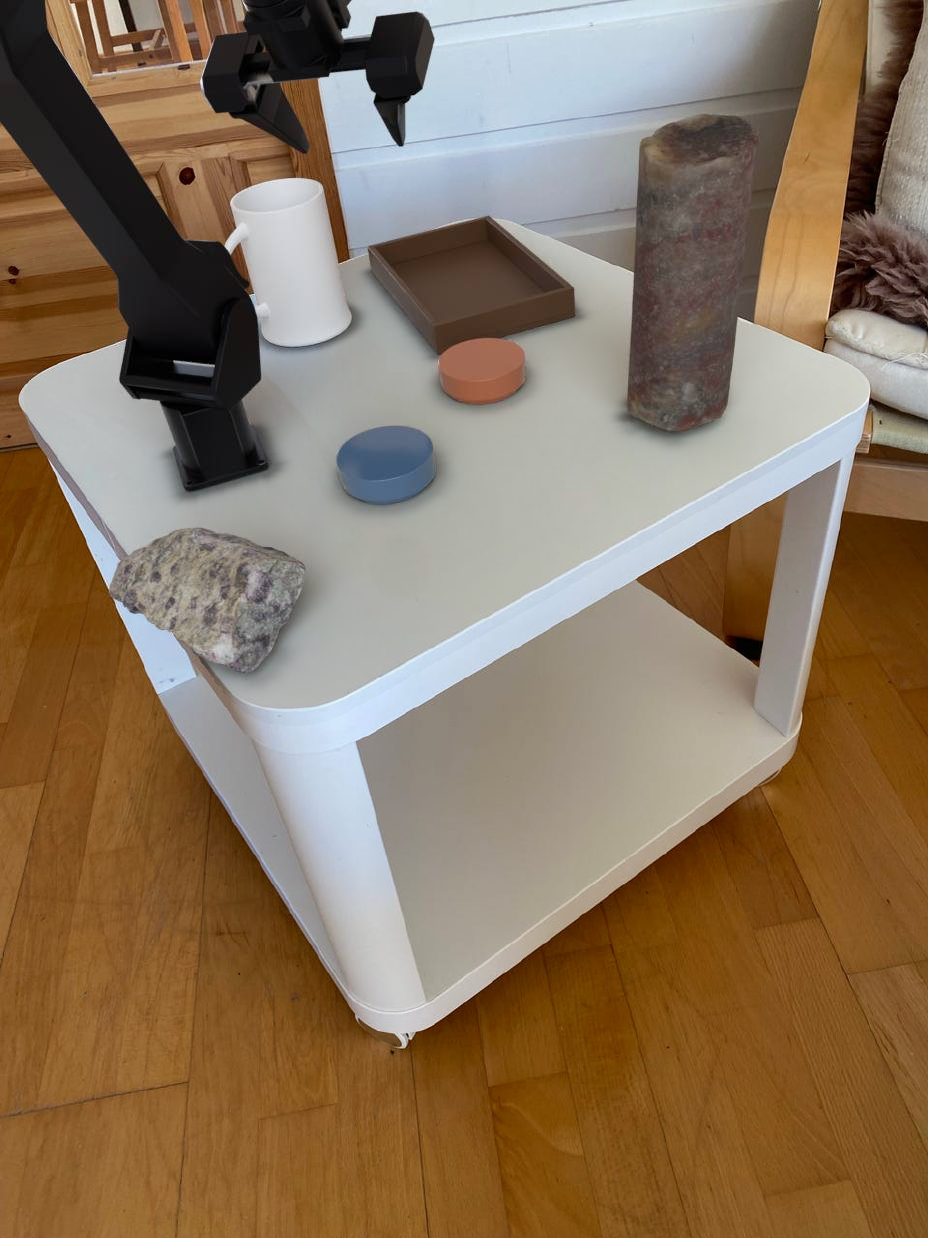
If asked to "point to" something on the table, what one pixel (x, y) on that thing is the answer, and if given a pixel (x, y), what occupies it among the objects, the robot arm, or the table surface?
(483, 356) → the puck terracotta
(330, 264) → the mug
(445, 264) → the tray
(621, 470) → the table surface
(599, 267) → the table surface
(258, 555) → the rock
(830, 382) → the table surface
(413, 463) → the blue puck
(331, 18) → the robot arm
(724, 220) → the brown stone pillar
